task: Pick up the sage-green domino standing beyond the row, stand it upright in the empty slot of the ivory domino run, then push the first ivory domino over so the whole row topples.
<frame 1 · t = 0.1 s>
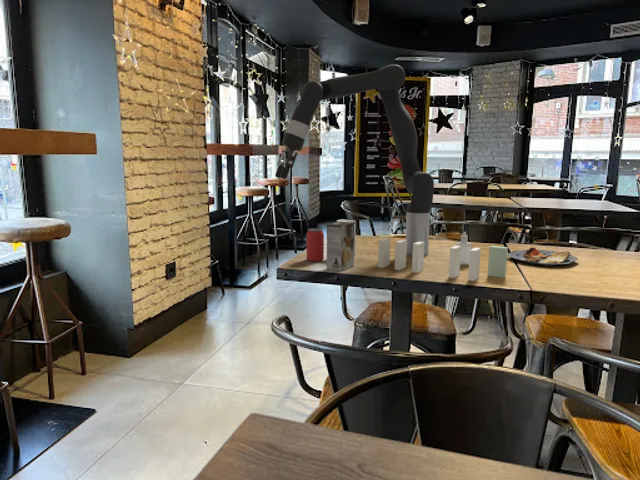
hand: (280, 177, 178), 31 cm above the table, tool tilted 20°, fingers open, 8 cm apart
sage domino: (496, 276, 166), on the table
beer can: (315, 260, 188), on the table
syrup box: (345, 256, 195), on the table
domino 4: (454, 276, 165), on the table
eye dropper bottle: (462, 264, 183), on the table
domino 5: (473, 278, 162), on the table
food plate: (541, 261, 190), on the table
domino 3: (417, 270, 172), on the table
coffee box: (340, 268, 176), on the table
domino 1: (383, 266, 179), on the table
domino 2: (400, 268, 176), on the table
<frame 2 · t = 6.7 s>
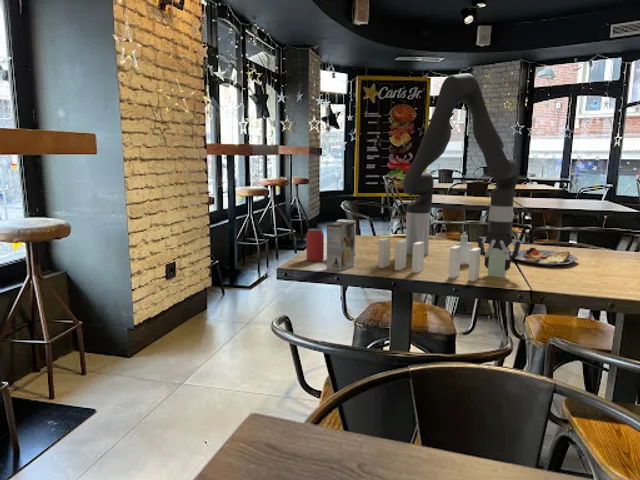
hand: (496, 268, 165), 2 cm above the table, tool pointing down, fingers closed on sage domino, 5 cm apart
sage domino: (496, 276, 166), on the table, touching gripper
everything else where it was.
when the fingers open (3 cm above the table, at t = 13.0 s): sage domino stays where it is, on the table.
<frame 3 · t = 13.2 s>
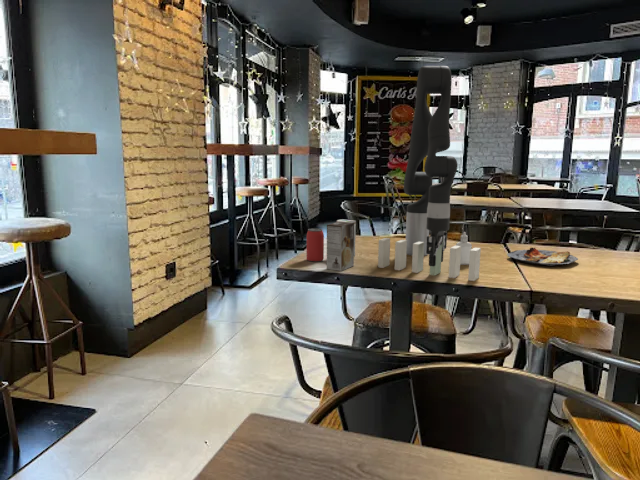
hand: (435, 263, 168), 3 cm above the table, tool pointing down, fingers open, 7 cm apart
sage domino: (435, 273, 169), on the table
everything else where it was.
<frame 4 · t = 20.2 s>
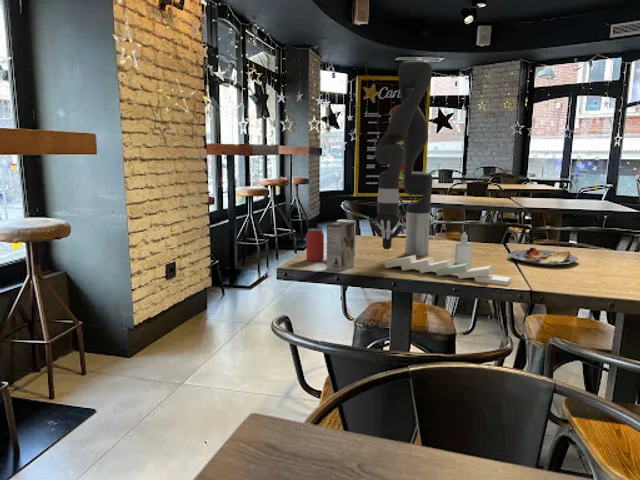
hand: (386, 248, 177), 6 cm above the table, tool pointing down, fingers closed
sage domino: (439, 271, 168), point 1 cm above the table, tilted 73°, touching domino 3, domino 4
domino 4: (460, 274, 164), point 1 cm above the table, tilted 75°, touching sage domino
domino 5: (477, 278, 161), on the table, tilted 90°
domino 3: (422, 268, 171), point 1 cm above the table, tilted 71°, touching domino 2, sage domino
domino 1: (387, 264, 178), point 1 cm above the table, tilted 72°, touching domino 2
domino 2: (404, 266, 175), point 1 cm above the table, tilted 72°, touching domino 1, domino 3
everything else where it was.
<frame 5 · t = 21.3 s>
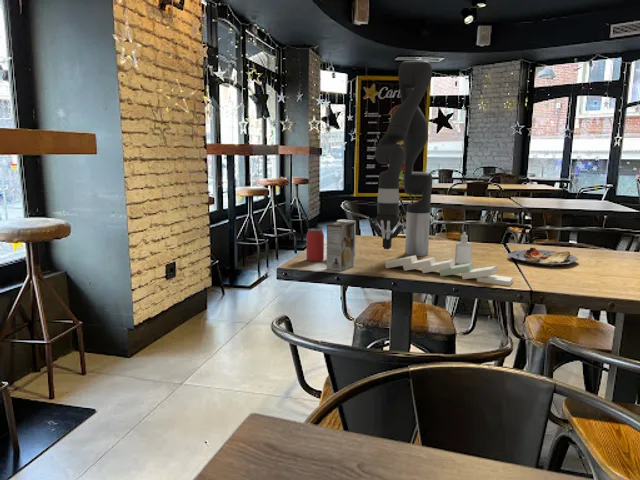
hand: (386, 248, 177), 6 cm above the table, tool pointing down, fingers closed
sage domino: (442, 271, 167), point 1 cm above the table, tilted 74°, touching domino 4
domino 4: (465, 274, 163), point 1 cm above the table, tilted 73°, touching domino 5, sage domino
domino 5: (479, 278, 161), on the table, tilted 90°, touching domino 4
domino 3: (424, 268, 171), point 1 cm above the table, tilted 72°, touching domino 2
domino 1: (388, 264, 178), point 1 cm above the table, tilted 73°
domino 2: (406, 266, 174), point 1 cm above the table, tilted 72°, touching domino 3
everything else where it was.
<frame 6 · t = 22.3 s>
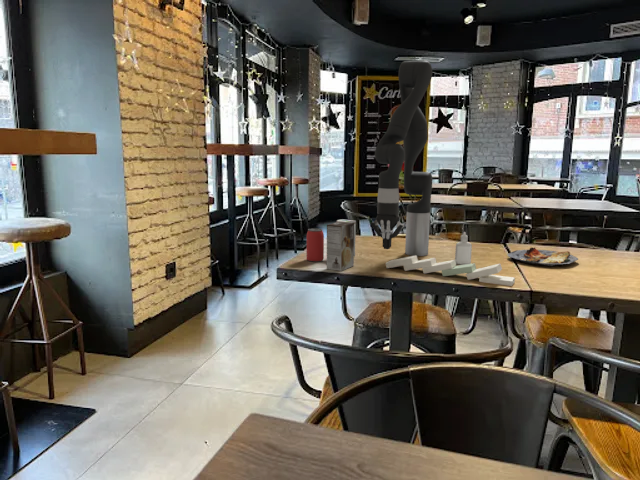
hand: (386, 248, 177), 7 cm above the table, tool pointing down, fingers closed
sage domino: (444, 271, 167), point 1 cm above the table, tilted 75°, touching domino 3, domino 4
domino 4: (469, 275, 162), point 1 cm above the table, tilted 69°, touching sage domino
domino 5: (481, 278, 161), on the table, tilted 90°
domino 3: (425, 269, 171), point 1 cm above the table, tilted 73°, touching domino 2, sage domino
domino 1: (388, 264, 178), point 1 cm above the table, tilted 73°, touching domino 2
domino 2: (406, 266, 174), point 1 cm above the table, tilted 73°, touching domino 1, domino 3
everything else where it was.
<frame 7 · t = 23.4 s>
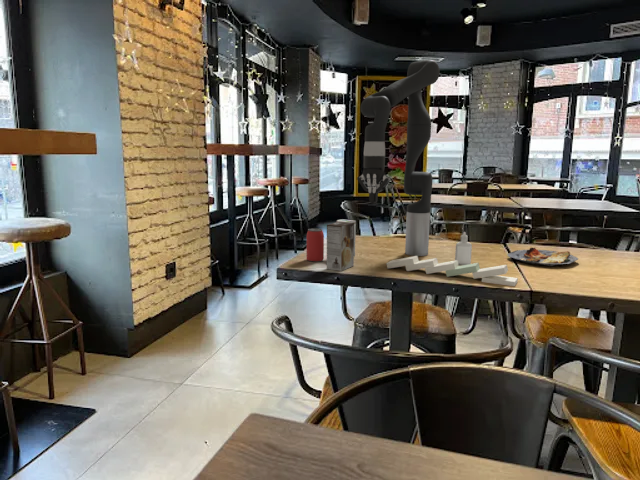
hand: (373, 203, 177), 23 cm above the table, tool pointing down, fingers closed
sage domino: (448, 272, 166), point 1 cm above the table, tilted 73°, touching domino 3, domino 4
domino 4: (474, 274, 162), point 1 cm above the table, tilted 74°, touching domino 5, sage domino
domino 5: (483, 278, 160), on the table, tilted 90°, touching domino 4
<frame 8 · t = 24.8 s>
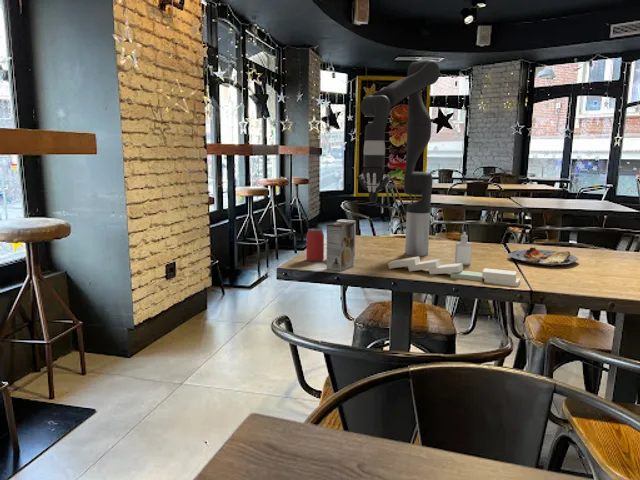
hand: (373, 202, 177), 23 cm above the table, tool pointing down, fingers closed
sage domino: (452, 274, 166), on the table, tilted 90°
domino 4: (483, 272, 160), point 2 cm above the table, tilted 90°, touching domino 5
domino 3: (431, 269, 169), point 1 cm above the table, tilted 78°, touching domino 2
domino 2: (411, 267, 174), point 1 cm above the table, tilted 75°, touching domino 1, domino 3
at the end: domino 5 tilted 90°; sage domino tilted 90°; the gripper is holding nothing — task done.
